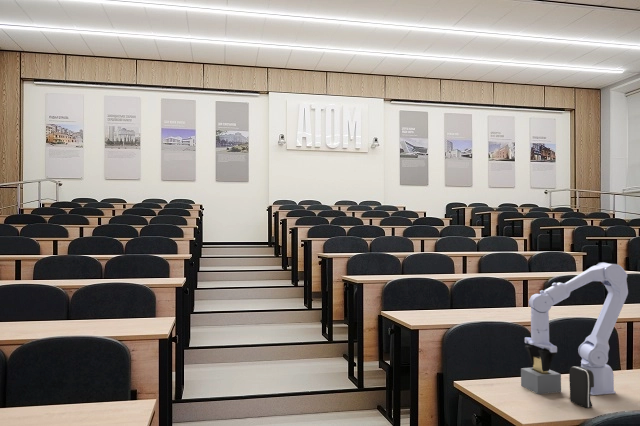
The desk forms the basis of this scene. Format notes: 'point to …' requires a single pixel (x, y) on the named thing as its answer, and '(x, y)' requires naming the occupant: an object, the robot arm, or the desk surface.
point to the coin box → (540, 381)
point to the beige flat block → (538, 365)
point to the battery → (581, 385)
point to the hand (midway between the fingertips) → (540, 368)
